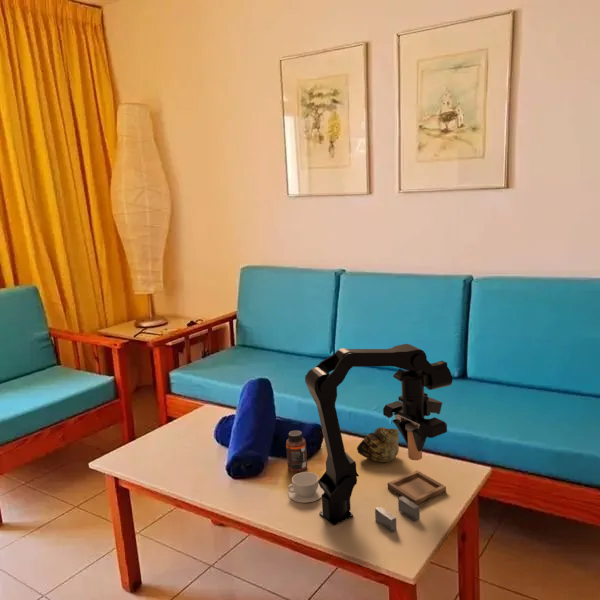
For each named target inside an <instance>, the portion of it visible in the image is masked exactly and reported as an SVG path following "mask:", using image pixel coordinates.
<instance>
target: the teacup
mask: <svg viewBox="0 0 600 600" xmlns="http://www.w3.org/2000/svg"><path fill="white" fill-rule="evenodd" d="M319 479H320V477H319V475H318V474H317V473H315V472H310V471H300V472H299V473H298V472H297V473H296V474H294V475H293V476H292V477H291V482H292V483H289V485H288V486H287V489H288V493H287V495H288V498H289V499H291V501H294V502H297V503H313V502H315V501H318V500H319V499H322V494H324V491H323V489H322V488H321V487H320V485H319V483H318V481H319Z"/></svg>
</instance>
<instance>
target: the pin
mask: <svg viewBox="0 0 600 600" xmlns="http://www.w3.org/2000/svg"><path fill="white" fill-rule="evenodd" d="M417 427H418V425H417V424H415V423H413V422H409V423H407V424H406V425H405V429H406V430H407V435H408V445H407V454H408V455H407V456H408V457H407V458H408V459H409V460H411V461H420V460H422V458H423V450H422V451H420V452H419V451H418V450H417V447H416V444H415V440H414V436H413V433H412V430H415V429H417Z"/></svg>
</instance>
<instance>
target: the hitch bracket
mask: <svg viewBox="0 0 600 600" xmlns="http://www.w3.org/2000/svg"><path fill="white" fill-rule="evenodd" d="M397 499H398V500H397V501H398V511H399V512H400V513H402V514H403V515H404V516H406V517H407V518H409V519H411V520H412V521H414V522H416V521H419V520H420V517H421V515H420V511H421V510H420V505H419V506H418V505H416V504H414V503H413V502H411V501H410V500H408V499H407V498H405V497H404V496H402V497H398V498H397ZM374 514H375V522H376V523H377V524H379V525H380V526H381V527H383V528H384V529H386V530H387V531H388V532H390V533H391V534H392V533H396V531H397V517H396V516H395V515H393V514H391V512H389V511H387V510H386V509H385V508H384V507H382V506H378V507H376V508H374Z"/></svg>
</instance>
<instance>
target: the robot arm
mask: <svg viewBox="0 0 600 600" xmlns="http://www.w3.org/2000/svg"><path fill="white" fill-rule="evenodd" d="M357 367H359V368H362V367H363V368H364V367H366V368H367V367H369V368H370V367H393V368H398V370H397V371H396V372H395V373H394V374H392V378H394V379H396V380H397V381H398V382H401V385H400V386H401V395H400V396H398V397H397V398H398V400H395V401H393V402H389V403H387V404H385V405H384V407H383V408H382V413H383V416H385V417H386V418H388V419H391V418H392V417H393V416H394V419H393V420H392V423H393V424H394V425H395V426H396V429H398V430H399V434H401V436H402V438H403V439H404V441H405V443H406V445H407V446H408V435H407V430H406V429H405V425H406V424H407V423H409V422H413V423H415V424H417V425H418V427H417V429H415V430H412V433H413V436H414V440H415V444H416V447H417V450H418V451H419V452H420V451H422V452H423V448H424V446H425V443H426V440H427V438H428V439H433V438H436V437H437V436H441V435H443V434H445V433H448V424H447V423H446V422H445V421H444V420H442V419H440V418H437V417H436V416H435V417H431V418H425V417H430V416H431V414H437V415H440V414H441V410H442V406H443V402H442V401H440V400H437V399H435V398H432V397H430V396H428V393H426V392H425V388H426V389H427V390H429V391H431V390H436V389H441V388H444V387H445V388H446V387H450V386H451V385H452V383H453V375H452V373H451V370H450V369H449V367H448V362H446V361H444V360H439V361H436V362H432V363H430V362H429V360H428V359H427V353H426V352H425V351H424V350H422V349H420V348H419V347H417V346H414V345H412V344H411V343H404V344H399V345H395V346H393V347H391V348H346V347H342V348H339V349H338V350H336V351H335V352H334V353H333V354H332V355H330V356H328V357H327V358H325V359H323V360H321V361H320V362H319V363H318V364H317V365H316V366H315V367H313V368H311V369H309V370H308V371H307V373H306V374H305V376H304V382H305V385H306V387H307V389H308V391H309V394H310V396H311V398H312V399H313V401H314V403H315V405H316V409H317V412H318V417H319V420H320V426H321V430H322V435H323V439H324V443H325V448H326V453H327V457H326V460H325V472H324V473H323V474H322V475H321V477H319V481H318V485H320V487H321V488H322V489H323V491H324V494H322V497H321V507H322V508H321V509H322V510H320V511H319V513H318V515H320V516H321V517H322V518H324V519H325V520H326V521H327V522H328V523H329V524H331V525H332V526H335V525H337V524H339V523H342V522H344V521H347V520H349V519H350V518H351V519H352V518H353V517H354V514H353V512H351V497H352V495H353V490H354V487H355V485H357V483H358V478H357V477H360V475H359V473H358V472H357V463H356V461H355V460H354V458H352V457H351V455H349V453H347V451H346V450H345V446H344V442H343V441H344V440H343V436H342V432H341V427H340V423H339V418H338V413H337V408H336V402H337V397H338V386H340V385H341V384H342V383H343V381H345V378H346V377H347V376H348V375H347V374H348V373H349V371H350V370H351V369H352V368H357Z"/></svg>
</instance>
